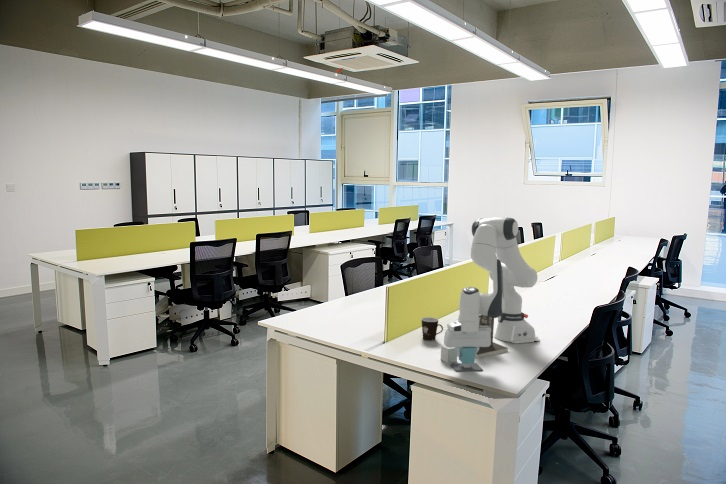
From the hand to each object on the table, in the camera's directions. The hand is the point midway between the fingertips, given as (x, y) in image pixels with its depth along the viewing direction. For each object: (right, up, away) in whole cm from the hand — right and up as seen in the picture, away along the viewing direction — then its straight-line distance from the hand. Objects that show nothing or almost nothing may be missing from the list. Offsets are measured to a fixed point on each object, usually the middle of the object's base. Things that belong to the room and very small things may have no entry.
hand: (466, 356), depth 213 cm
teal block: (0, -2, 0) cm, 2 cm away
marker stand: (0, -5, +1) cm, 5 cm away
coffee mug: (-10, 0, +38) cm, 40 cm away
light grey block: (-6, -4, +9) cm, 11 cm away
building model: (+12, -3, +26) cm, 28 cm away
